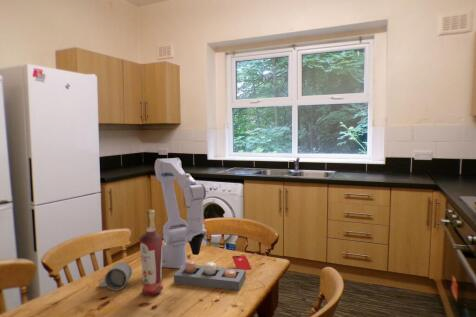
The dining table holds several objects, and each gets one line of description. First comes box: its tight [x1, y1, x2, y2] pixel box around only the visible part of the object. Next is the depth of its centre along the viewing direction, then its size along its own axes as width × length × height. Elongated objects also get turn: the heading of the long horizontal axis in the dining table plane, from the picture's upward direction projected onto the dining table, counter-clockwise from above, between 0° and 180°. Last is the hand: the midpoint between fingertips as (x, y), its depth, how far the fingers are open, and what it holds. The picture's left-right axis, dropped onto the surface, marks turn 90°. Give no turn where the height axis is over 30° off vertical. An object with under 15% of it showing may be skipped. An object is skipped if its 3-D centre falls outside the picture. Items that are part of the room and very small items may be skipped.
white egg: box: [204, 261, 217, 275], centre depth 119 cm, size 4×4×3 cm
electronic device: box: [232, 254, 253, 271], centre depth 136 cm, size 6×1×15 cm
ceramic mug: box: [98, 261, 133, 291], centre depth 116 cm, size 11×8×8 cm
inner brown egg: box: [185, 260, 197, 273], centre depth 121 cm, size 4×4×3 cm
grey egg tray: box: [173, 264, 247, 291], centre depth 119 cm, size 24×10×3 cm, turn 76°
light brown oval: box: [225, 270, 236, 278], centre depth 117 cm, size 4×4×3 cm
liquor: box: [139, 209, 164, 296], centre depth 110 cm, size 7×7×28 cm
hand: (195, 254), depth 120 cm, fingers closed
